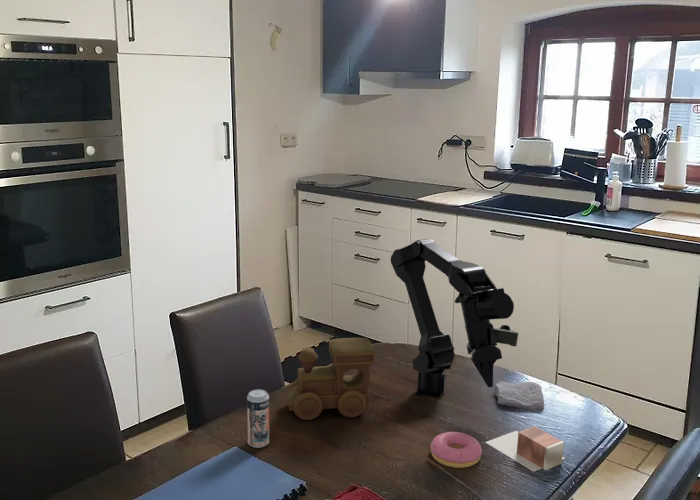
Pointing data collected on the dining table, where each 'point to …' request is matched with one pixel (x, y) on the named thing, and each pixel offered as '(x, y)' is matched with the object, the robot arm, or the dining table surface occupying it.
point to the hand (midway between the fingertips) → (490, 386)
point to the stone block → (520, 395)
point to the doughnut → (456, 449)
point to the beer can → (258, 418)
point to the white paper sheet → (512, 449)
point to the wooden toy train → (333, 380)
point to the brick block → (540, 448)
